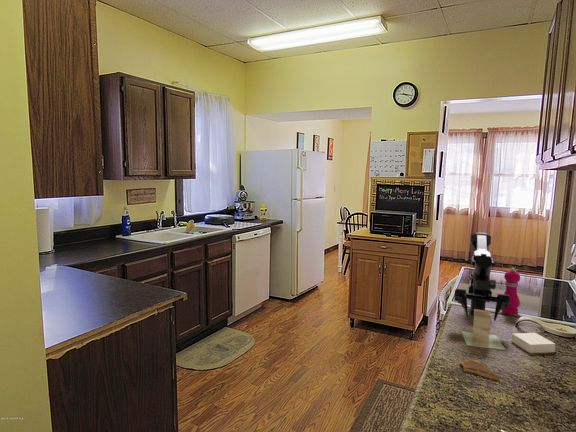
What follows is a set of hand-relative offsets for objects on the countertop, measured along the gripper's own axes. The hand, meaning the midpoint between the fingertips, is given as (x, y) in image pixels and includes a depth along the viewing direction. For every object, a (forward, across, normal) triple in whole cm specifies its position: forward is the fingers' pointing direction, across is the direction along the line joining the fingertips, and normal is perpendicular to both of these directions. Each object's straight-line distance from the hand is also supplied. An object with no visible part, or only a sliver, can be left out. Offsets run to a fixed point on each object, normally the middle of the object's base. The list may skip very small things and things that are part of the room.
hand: (480, 318), depth 139 cm
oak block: (+9, 0, 0) cm, 9 cm away
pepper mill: (-19, +13, +29) cm, 37 cm away
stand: (+6, +16, +4) cm, 18 cm away
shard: (+25, -1, -14) cm, 29 cm away
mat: (+8, +1, +2) cm, 8 cm away
